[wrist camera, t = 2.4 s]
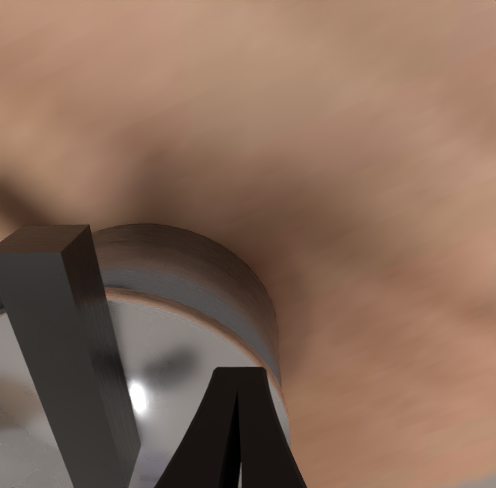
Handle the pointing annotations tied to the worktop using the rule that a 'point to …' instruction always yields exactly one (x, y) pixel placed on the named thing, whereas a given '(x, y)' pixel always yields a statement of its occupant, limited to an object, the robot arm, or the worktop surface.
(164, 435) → the cooker lid
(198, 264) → the cooker pot
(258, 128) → the worktop surface
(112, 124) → the worktop surface
